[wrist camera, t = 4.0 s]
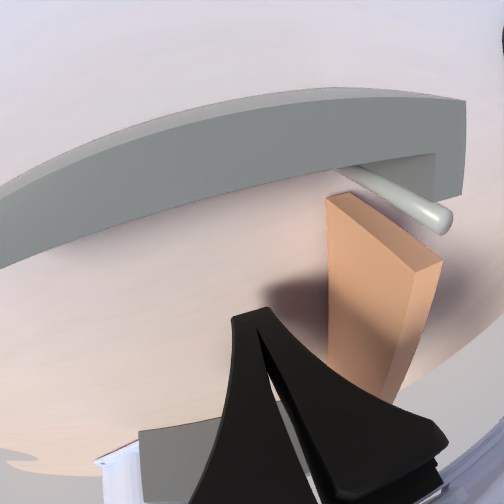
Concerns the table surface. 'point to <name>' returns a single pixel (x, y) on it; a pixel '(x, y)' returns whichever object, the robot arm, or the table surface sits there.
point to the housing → (232, 179)
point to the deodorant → (503, 40)
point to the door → (375, 295)
